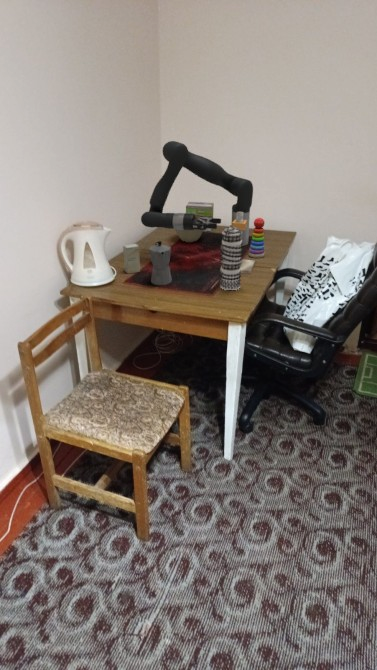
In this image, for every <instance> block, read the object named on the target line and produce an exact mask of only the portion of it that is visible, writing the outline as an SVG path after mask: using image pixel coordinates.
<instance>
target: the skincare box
mask: <svg viewBox="0 0 377 670" xmlns="http://www.w3.org/2000/svg"><path fill="white" fill-rule="evenodd" d="M122 248H123V262H124V271H125V272H126V273H127V274H133V273H134V274H135V273H139V272H141V263H140V262H141V260H140V257H141V256H140V246H139V245H138V244H137V243H132V244H124V245H122Z"/></svg>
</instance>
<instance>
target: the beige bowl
mask: <svg viewBox="0 0 377 670" xmlns="http://www.w3.org/2000/svg"><path fill="white" fill-rule="evenodd" d="M195 216H196V218H199V217H200V216H203V215H199V214H195ZM174 231H175V234H176V235H177V237H178V238H179V239H180V240H181V241H182V242H184V241H185V243H194V241H195V242H197V241H198V240H199V239H200V237H201V236H202V234H203V232H204V231H203V230H197V229H194V230H193V231H192V230H178V229H174Z"/></svg>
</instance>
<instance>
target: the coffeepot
mask: <svg viewBox="0 0 377 670" xmlns="http://www.w3.org/2000/svg"><path fill="white" fill-rule="evenodd" d="M148 251H149V256H150V261H151V264H152V268H151V269H152V270H151V279H150V282H151V283H152V284H153V285H155V286H166V285H169V284H171V283H172V281H173V277H172V275H171V268H170V265H169V263H170V259H171V251H172V247H171V246H169V245H167V244H162V241H161V240H158V241H156V242H155V245H152V246H150V247H149V249H148Z"/></svg>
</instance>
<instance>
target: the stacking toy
mask: <svg viewBox="0 0 377 670" xmlns="http://www.w3.org/2000/svg"><path fill="white" fill-rule="evenodd" d="M264 226H265V220H264V219H263V218H262V217H256V218H255V219H254V221H253V227H254V228H253V232H252V233H251V234H252V237H251V241H250V245H249V248H248V249H249V252H248V256H249V257H250V258H255V259H260V258H264V257H265V255H266V254H265V236H264V235H265V234H264V231H265V230H264Z"/></svg>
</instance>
